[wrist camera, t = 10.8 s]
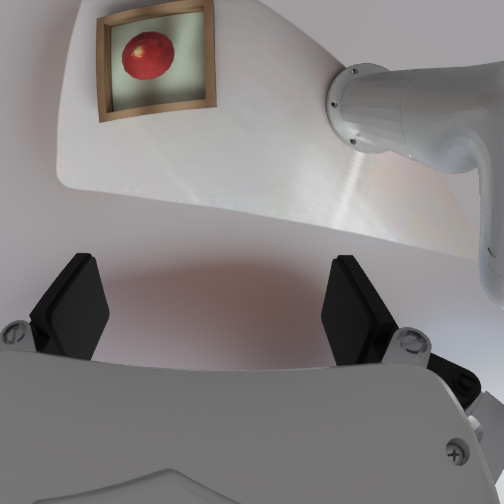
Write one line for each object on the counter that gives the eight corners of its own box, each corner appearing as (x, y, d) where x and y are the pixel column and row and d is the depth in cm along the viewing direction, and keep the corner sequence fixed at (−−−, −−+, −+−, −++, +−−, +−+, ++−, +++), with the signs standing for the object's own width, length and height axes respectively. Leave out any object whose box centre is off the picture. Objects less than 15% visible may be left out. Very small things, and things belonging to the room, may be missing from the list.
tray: (214, 6, 26) (212, -3, 23) (216, 107, 33) (215, 107, 30) (107, 24, 26) (96, 18, 23) (110, 120, 32) (99, 122, 29)
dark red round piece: (135, 40, 27) (112, 27, 20) (181, 37, 27) (168, 20, 20) (132, 83, 29) (107, 79, 22) (177, 80, 30) (163, 74, 23)
